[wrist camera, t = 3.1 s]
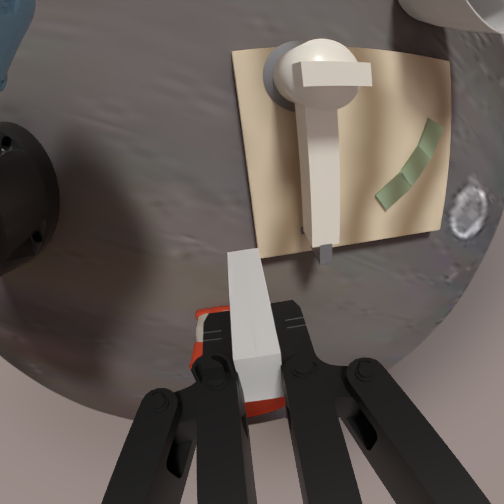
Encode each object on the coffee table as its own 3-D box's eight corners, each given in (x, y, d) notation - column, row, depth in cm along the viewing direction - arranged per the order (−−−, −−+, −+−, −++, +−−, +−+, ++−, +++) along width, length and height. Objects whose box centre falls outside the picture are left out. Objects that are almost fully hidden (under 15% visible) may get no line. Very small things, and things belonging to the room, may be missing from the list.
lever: (269, 49, 18) (291, 33, 12) (329, 48, 18) (372, 37, 12) (288, 245, 27) (308, 296, 21) (337, 237, 27) (368, 284, 21)
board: (257, 249, 29) (259, 260, 27) (230, 48, 19) (231, 44, 18) (431, 223, 30) (441, 230, 28) (439, 56, 20) (451, 56, 18)
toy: (298, 355, 38) (312, 405, 31) (223, 371, 39) (226, 422, 32) (285, 284, 32) (302, 339, 25) (191, 305, 32) (186, 363, 25)
